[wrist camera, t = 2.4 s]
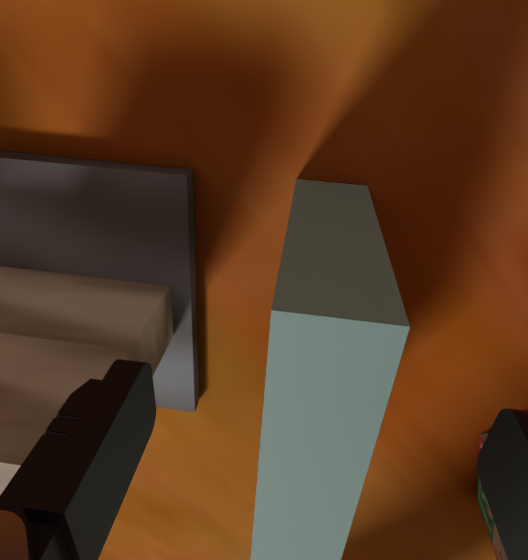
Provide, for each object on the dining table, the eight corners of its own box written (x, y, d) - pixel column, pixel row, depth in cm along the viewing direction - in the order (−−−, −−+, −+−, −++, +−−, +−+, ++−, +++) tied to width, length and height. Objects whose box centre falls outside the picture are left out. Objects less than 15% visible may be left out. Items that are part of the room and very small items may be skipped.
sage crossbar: (323, 416, 25) (323, 618, 16) (273, 409, 25) (246, 604, 16) (367, 185, 18) (409, 326, 9) (296, 178, 18) (271, 309, 9)
